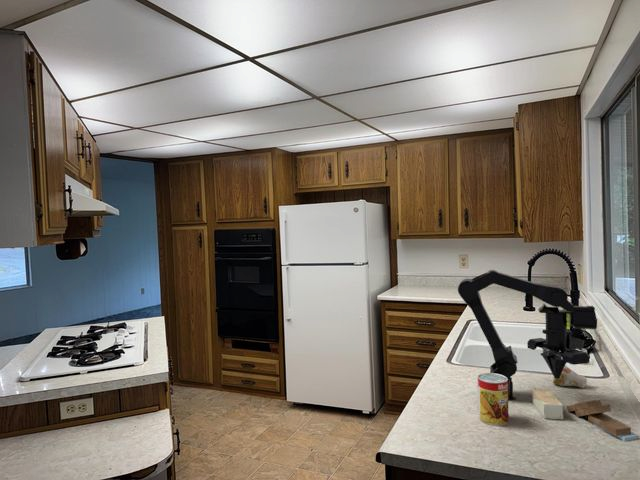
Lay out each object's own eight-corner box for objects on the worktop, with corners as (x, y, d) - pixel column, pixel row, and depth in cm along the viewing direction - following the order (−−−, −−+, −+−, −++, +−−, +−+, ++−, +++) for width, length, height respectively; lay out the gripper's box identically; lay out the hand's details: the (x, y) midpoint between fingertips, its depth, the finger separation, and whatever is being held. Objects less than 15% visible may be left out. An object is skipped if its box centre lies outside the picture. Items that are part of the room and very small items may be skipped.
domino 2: (591, 415, 123) (611, 411, 115) (576, 416, 122) (596, 412, 114) (589, 409, 123) (609, 404, 116) (574, 410, 123) (594, 406, 115)
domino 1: (582, 410, 126) (602, 406, 118) (568, 411, 126) (587, 407, 118) (580, 404, 127) (600, 400, 119) (566, 406, 126) (585, 401, 118)
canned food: (509, 427, 118) (508, 383, 117) (478, 423, 120) (477, 381, 120) (507, 415, 125) (506, 374, 124) (478, 412, 128) (477, 371, 127)
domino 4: (606, 425, 118) (638, 441, 109) (593, 428, 117) (624, 444, 108) (606, 420, 118) (638, 435, 109) (593, 422, 117) (624, 437, 108)
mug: (590, 392, 139) (573, 366, 140) (560, 399, 145) (544, 374, 145) (590, 380, 145) (574, 354, 146) (561, 387, 151) (546, 362, 151)
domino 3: (602, 418, 119) (630, 433, 110) (588, 420, 118) (615, 435, 109) (602, 412, 119) (630, 427, 110) (588, 414, 118) (615, 429, 109)
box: (550, 389, 131) (564, 404, 120) (550, 403, 132) (564, 420, 121) (531, 389, 132) (544, 404, 121) (531, 403, 132) (544, 419, 121)
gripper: (604, 332, 124) (605, 385, 125) (554, 319, 142) (555, 365, 143) (572, 335, 122) (573, 390, 122) (525, 322, 140) (526, 369, 140)
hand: (557, 378), depth 132 cm, fingers closed
